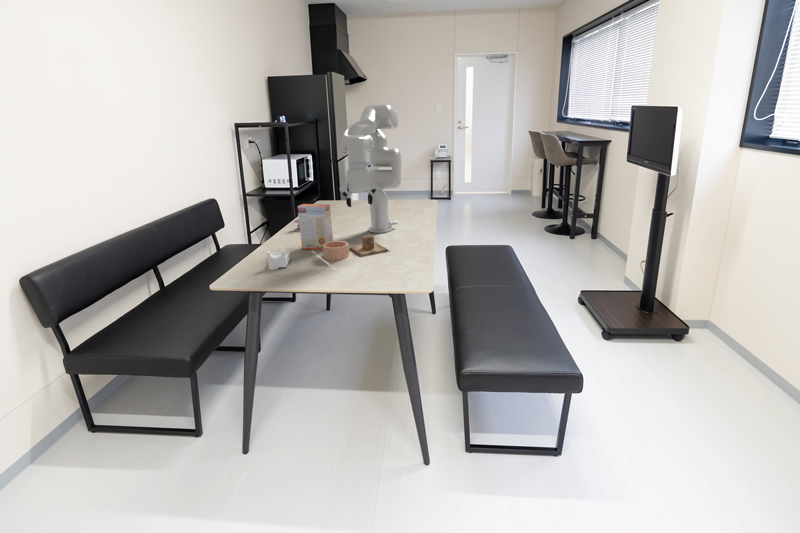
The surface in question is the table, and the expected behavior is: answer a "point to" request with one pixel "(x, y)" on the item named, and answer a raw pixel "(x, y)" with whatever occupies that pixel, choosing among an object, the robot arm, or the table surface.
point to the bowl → (336, 250)
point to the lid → (368, 247)
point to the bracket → (278, 259)
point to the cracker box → (315, 225)
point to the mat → (367, 255)
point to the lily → (297, 222)
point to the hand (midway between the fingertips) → (359, 205)
